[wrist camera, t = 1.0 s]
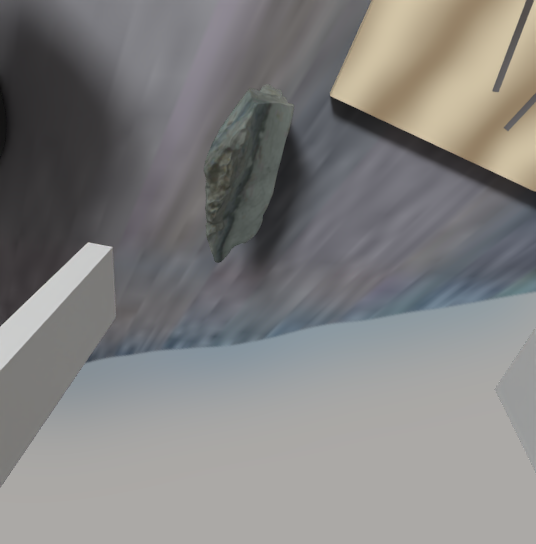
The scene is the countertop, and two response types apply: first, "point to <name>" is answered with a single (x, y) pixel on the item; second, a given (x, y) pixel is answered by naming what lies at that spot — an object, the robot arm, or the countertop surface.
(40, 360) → the robot arm
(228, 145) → the stone
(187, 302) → the countertop surface
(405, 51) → the board
